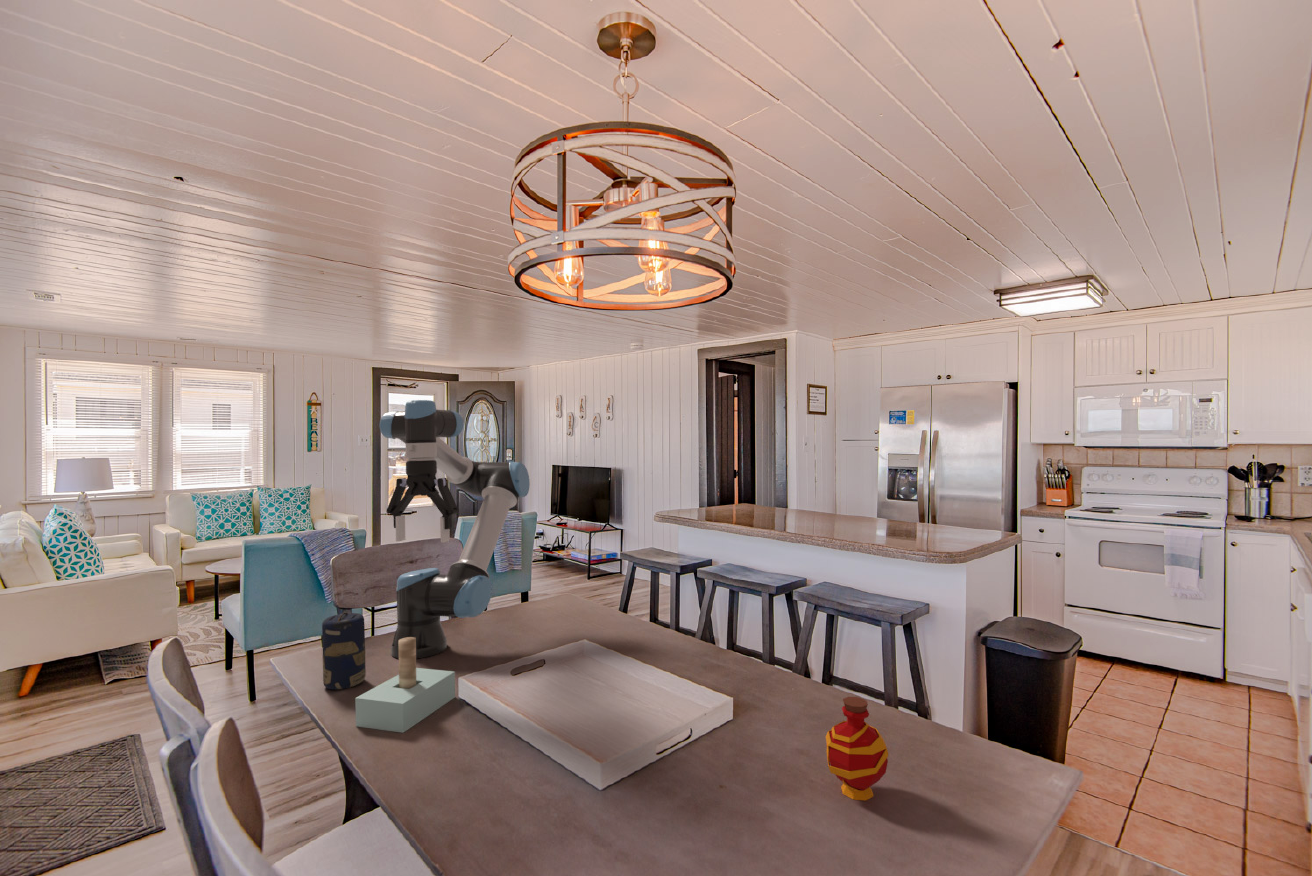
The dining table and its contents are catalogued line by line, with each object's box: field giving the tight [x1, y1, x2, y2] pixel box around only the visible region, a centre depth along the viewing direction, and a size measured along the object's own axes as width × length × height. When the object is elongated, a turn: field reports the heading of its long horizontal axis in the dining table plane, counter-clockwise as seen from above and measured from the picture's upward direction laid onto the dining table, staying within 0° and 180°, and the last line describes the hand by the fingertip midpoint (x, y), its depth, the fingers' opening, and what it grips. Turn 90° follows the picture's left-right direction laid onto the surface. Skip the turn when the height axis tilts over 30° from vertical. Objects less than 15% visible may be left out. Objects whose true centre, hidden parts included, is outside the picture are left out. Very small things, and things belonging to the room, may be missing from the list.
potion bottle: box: [825, 696, 889, 801], centre depth 101 cm, size 10×10×15 cm
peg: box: [398, 637, 417, 689], centre depth 135 cm, size 4×4×16 cm
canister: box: [321, 611, 367, 690], centre depth 151 cm, size 10×10×18 cm
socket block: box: [354, 667, 456, 734], centre depth 135 cm, size 18×12×6 cm, turn 164°
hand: (422, 541), depth 157 cm, fingers open, 13 cm apart
